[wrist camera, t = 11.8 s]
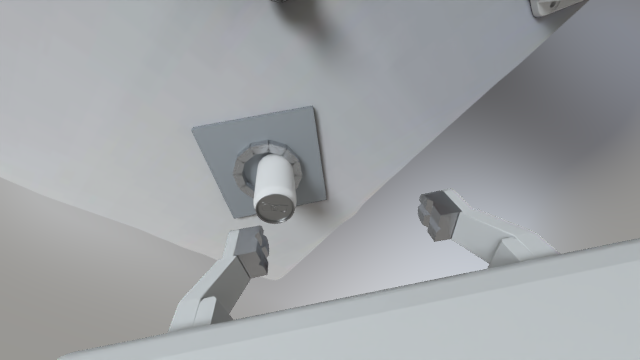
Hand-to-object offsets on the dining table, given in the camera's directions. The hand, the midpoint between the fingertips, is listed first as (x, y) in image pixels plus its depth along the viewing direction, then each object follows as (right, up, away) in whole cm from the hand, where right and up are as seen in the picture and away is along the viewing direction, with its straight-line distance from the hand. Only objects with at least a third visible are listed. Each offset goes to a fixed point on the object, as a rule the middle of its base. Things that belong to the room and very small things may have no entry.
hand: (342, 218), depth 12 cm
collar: (-11, +4, +31) cm, 33 cm away
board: (-11, +4, +32) cm, 34 cm away
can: (-10, +4, +31) cm, 33 cm away
